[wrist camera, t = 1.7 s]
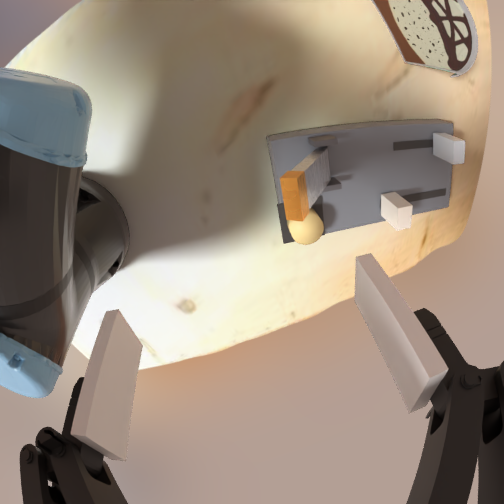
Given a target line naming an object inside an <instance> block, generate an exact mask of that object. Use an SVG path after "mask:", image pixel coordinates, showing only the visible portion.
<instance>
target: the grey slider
mask: <svg viewBox="0 0 504 504" xmlns="http://www.w3.org/2000/svg"><path fill="white" fill-rule="evenodd" d="M433 155H435V156H437V157H439V158H441V159H443V160H445V161H447V162H449V163H451V164H453V165H454V164H464V158H465V140H462V139H460V138H457V137H455V136H452V135H450V134H447V133H433Z"/></svg>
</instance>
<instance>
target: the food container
mask: <svg viewBox="0 0 504 504" xmlns="http://www.w3.org/2000/svg"><path fill="white" fill-rule="evenodd" d="M371 1H372V2H373V4H374V6H375V7H376V9H377V11H378V12H379V14H380V16H381V18H382V19H383V21H384V23H385V25H386V26H387V28H388V30H389V32H390V34H391V36H392V38H393V40H394V42H395V44H396V46H397V48H398V50H399V52H400V54H401V56H402V58H403V60H404V63H407V64H414V65H419V66H425V67H430V68H435V69H439V70H444V71H448V72H452V73H455V74H453V75H452V76H450V77H451V78H452V77H458V76H460V75H462V74H464V73H466V72H467V71H468V70H469V69H470V68H471V67H472V65H473V64H474V62H475V59H476V56H477V52H478V36H477V30H476V26H475V23H474V20H473V18H472V15H471V13H470V11H469V9H468V7H467V6H466V4H465V3H464V1H463V0H371Z"/></svg>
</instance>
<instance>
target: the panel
mask: <svg viewBox="0 0 504 504" xmlns="http://www.w3.org/2000/svg"><path fill="white" fill-rule="evenodd" d="M433 133H447V134H450V135H452V136H453V123H450V122H447V121H443V120H440V119H417V120H393V121H377V122H365V123H354V124H344V125H336V126H327V127H320V128H313V129H306V130H299V131H293V132H287V133H281V134H275V135H270V136H266V137H267V142H268V148H269V153H270V158H271V164H272V169H273V175H274V181H275V186H276V192H277V198H278V204H277V207H278V212H279V218H280V224H281V230H282V237H283V243H284V244H285V243H290V242H294V241H295V240H294V239H293V237H292V235H291V233H290V231H289V228H288V226H287V220H286V214H285V208H284V201H283V195H282V189H281V183H280V177H281V176H283V175H284V174H285V173H286V172H287V171H291V170H292V169H293V168H294V167H295V166H297V165H298V164H299V163H300V162H301V161H302V160H303V159H304V158H306V157H307V156H308V155H309V154H310V153H311V152H312V151H313V150H315V149H316V148H318V147H322V146H328V152H329V161H330V171H331V181H330V182H329V183H328V184H327V186H326V187H325V189H324V190H323V191H322V193H321V194H320V196H319V197H318V198H317V200H316V201H315V202H314V204H313V205H312V207H311V208H312V209H314V210H315V212H316V213H317V214H318V216H319V217H320V219H321V220H322V222H323V225H324V231H323V234H322V235H325V234H326V233H331V232H336V231H340V230H345V229H349V228H354V227H359V226H363V225H368V224H372V223H377V222H382V221H386V220H385V219H384V218H383V217H382V216H381V194H385V193H391V192H396V193H397V194H399V195H400V196H401V197H402V198H404V199H405V200H406V201H408V202H409V203H410V204H411V205H413V208H412V215H414V214H418V213H423V212H428V211H432V210H437V209H442V208H446V207H449V198H450V189H451V177H452V164H451V163H449V162H447V161H445V160H443V159H441V158H439V157H437V156H435V155H433Z"/></svg>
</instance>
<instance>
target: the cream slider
mask: <svg viewBox="0 0 504 504" xmlns="http://www.w3.org/2000/svg"><path fill="white" fill-rule="evenodd" d="M412 208H413V205H411V204H410V203H409V202H408V201H406V200H405V199H404V198H402V197H401V196H400V195H399V194H397V193H396V192H391V193H385V194H381V216H382V217H383V218H384V219H385V220H386V221H387V222H388V223H389V224H390V225H391V226H392V227H393V228H394V229H395V230H396V231H398V230H402V229H407V228H411V220H412Z"/></svg>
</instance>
